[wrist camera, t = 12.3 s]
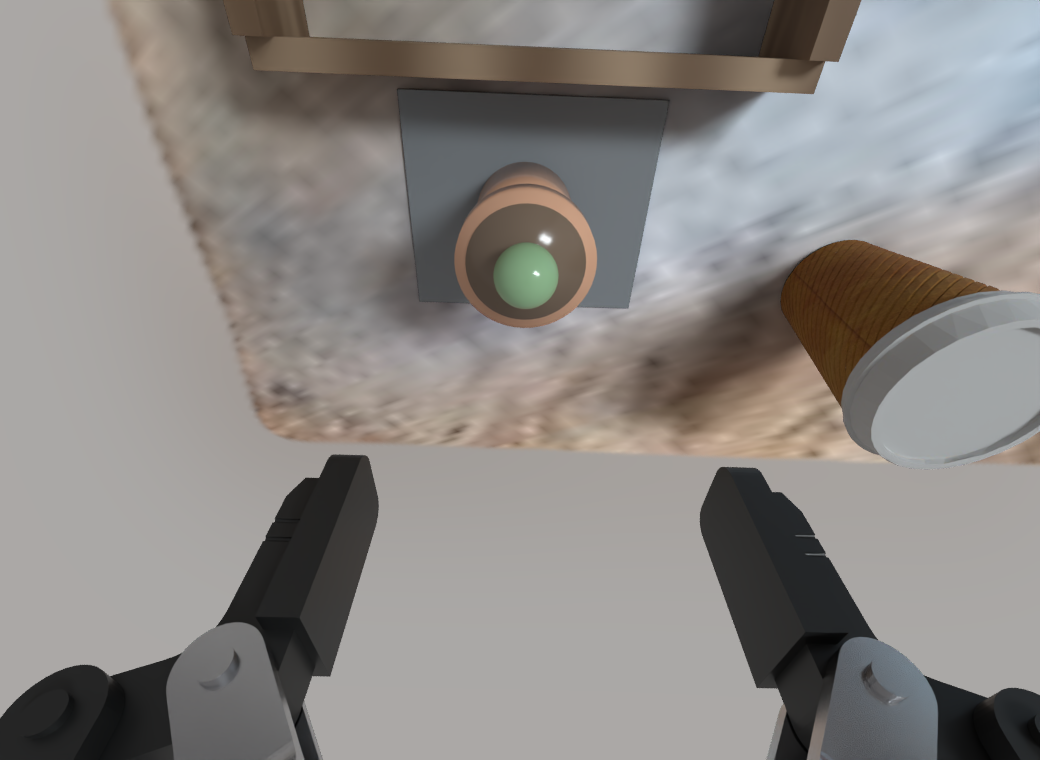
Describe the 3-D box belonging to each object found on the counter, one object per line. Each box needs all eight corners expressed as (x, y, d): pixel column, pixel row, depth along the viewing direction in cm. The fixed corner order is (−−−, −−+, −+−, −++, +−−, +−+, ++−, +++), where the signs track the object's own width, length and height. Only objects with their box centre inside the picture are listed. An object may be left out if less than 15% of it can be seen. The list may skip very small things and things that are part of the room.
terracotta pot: (584, 155, 25) (617, 211, 17) (573, 266, 29) (595, 358, 20) (468, 151, 25) (441, 206, 17) (471, 263, 29) (451, 354, 20)
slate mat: (667, 100, 24) (669, 100, 24) (627, 306, 31) (628, 308, 31) (398, 88, 24) (397, 89, 23) (420, 299, 31) (419, 301, 31)
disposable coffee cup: (932, 289, 30) (1125, 407, 20) (791, 370, 34) (897, 501, 24) (882, 177, 26) (1094, 258, 16) (728, 283, 30) (826, 400, 20)
